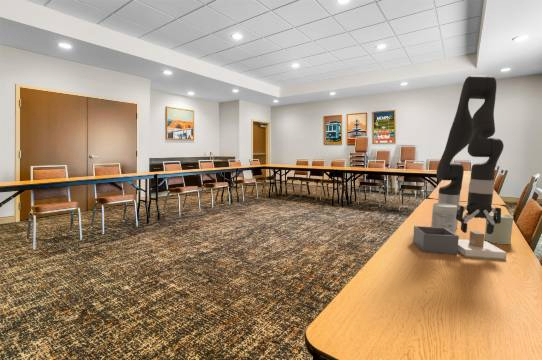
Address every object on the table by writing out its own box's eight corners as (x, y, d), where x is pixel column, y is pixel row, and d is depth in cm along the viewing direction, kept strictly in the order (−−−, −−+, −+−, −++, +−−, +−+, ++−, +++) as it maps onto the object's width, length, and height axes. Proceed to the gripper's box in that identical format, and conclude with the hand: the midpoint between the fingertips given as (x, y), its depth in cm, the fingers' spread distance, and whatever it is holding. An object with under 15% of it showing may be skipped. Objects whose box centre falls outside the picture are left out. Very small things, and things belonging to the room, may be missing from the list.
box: (412, 242, 120) (414, 226, 119) (443, 244, 118) (445, 227, 117) (422, 251, 108) (423, 234, 107) (457, 254, 106) (458, 236, 105)
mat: (449, 244, 117) (449, 243, 117) (484, 247, 115) (484, 246, 115) (465, 256, 104) (465, 255, 104) (505, 259, 101) (505, 258, 101)
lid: (449, 243, 117) (450, 226, 116) (485, 246, 115) (486, 229, 114) (464, 255, 104) (466, 236, 103) (506, 258, 102) (508, 239, 101)
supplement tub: (435, 232, 135) (437, 202, 134) (458, 237, 128) (461, 205, 127) (427, 235, 129) (429, 204, 128) (450, 241, 122) (453, 207, 121)
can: (511, 246, 117) (514, 217, 115) (483, 241, 122) (486, 214, 121) (510, 240, 124) (513, 214, 123) (483, 236, 129) (486, 211, 128)
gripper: (495, 190, 109) (491, 231, 111) (455, 189, 112) (451, 229, 114) (508, 193, 102) (503, 237, 104) (464, 192, 105) (460, 234, 106)
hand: (476, 232), depth 109 cm, fingers open, 8 cm apart
